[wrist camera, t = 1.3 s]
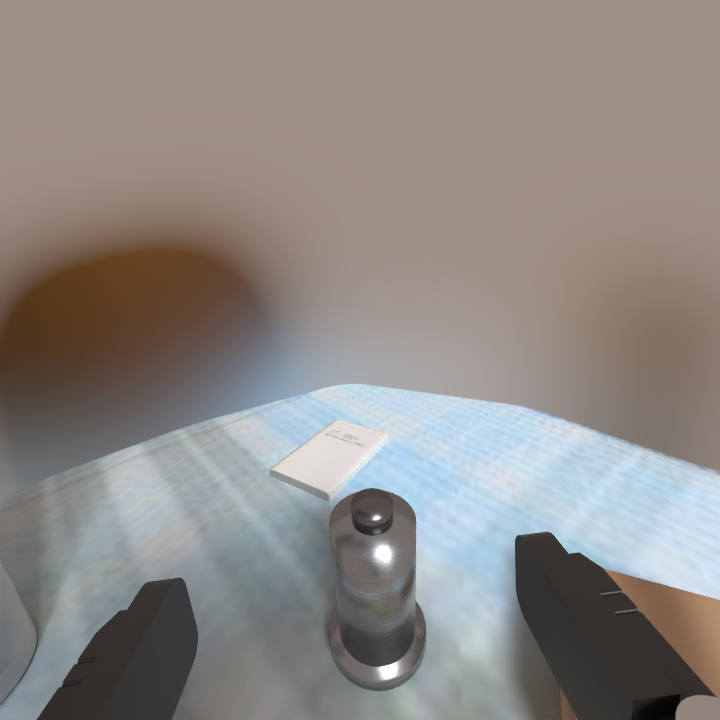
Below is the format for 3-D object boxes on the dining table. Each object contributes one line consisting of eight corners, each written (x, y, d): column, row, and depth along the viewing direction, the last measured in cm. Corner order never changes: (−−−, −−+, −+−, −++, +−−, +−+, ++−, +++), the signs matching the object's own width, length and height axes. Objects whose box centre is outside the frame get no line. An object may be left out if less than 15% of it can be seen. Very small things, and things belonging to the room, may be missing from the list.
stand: (564, 778, 19) (577, 732, 17) (554, 599, 27) (562, 557, 26) (851, 914, 15) (898, 867, 13) (735, 654, 23) (756, 610, 22)
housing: (312, 664, 24) (293, 528, 20) (353, 579, 29) (345, 459, 25) (410, 710, 21) (410, 565, 17) (435, 608, 27) (440, 480, 23)
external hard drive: (271, 480, 42) (336, 428, 52) (330, 506, 38) (389, 444, 47) (269, 468, 41) (335, 417, 51) (329, 493, 37) (388, 432, 47)
